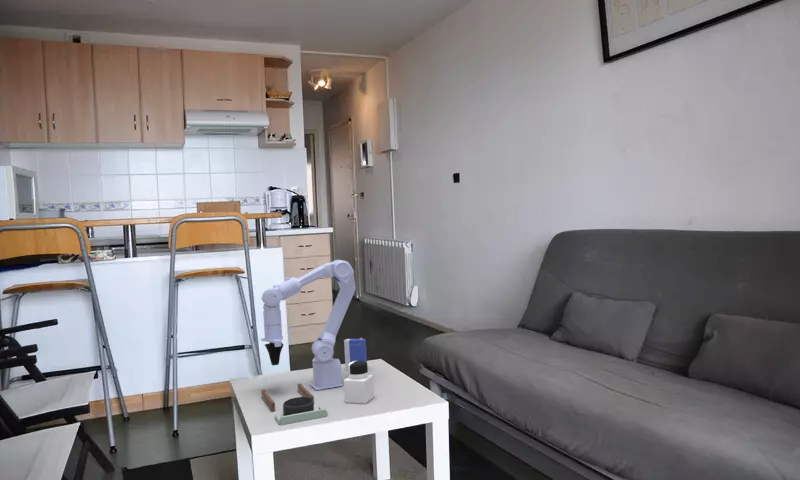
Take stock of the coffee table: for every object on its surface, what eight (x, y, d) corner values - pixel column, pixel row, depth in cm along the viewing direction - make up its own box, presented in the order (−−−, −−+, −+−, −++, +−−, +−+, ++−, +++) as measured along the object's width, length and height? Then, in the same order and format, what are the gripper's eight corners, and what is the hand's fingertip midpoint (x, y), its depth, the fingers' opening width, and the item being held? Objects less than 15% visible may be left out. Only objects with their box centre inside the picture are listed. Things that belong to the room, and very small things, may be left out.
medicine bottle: (374, 397, 178) (372, 359, 178) (365, 404, 171) (363, 364, 171) (353, 396, 180) (351, 358, 180) (344, 403, 174) (342, 364, 173)
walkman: (367, 369, 215) (365, 337, 215) (365, 370, 212) (363, 339, 212) (347, 369, 217) (346, 338, 217) (345, 370, 214) (343, 339, 214)
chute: (300, 391, 190) (300, 383, 189) (314, 404, 174) (313, 396, 174) (261, 397, 184) (261, 389, 184) (271, 411, 169) (271, 403, 169)
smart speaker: (277, 418, 163) (276, 404, 163) (293, 408, 171) (293, 395, 171) (304, 420, 160) (303, 406, 159) (319, 410, 168) (318, 397, 168)
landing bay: (321, 409, 168) (321, 403, 168) (328, 416, 162) (327, 409, 162) (274, 418, 162) (274, 411, 162) (279, 425, 156) (279, 418, 156)
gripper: (257, 323, 194) (259, 362, 194) (264, 328, 181) (267, 370, 181) (277, 320, 197) (279, 359, 197) (286, 326, 183) (288, 367, 184)
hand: (275, 364), depth 189 cm, fingers closed
